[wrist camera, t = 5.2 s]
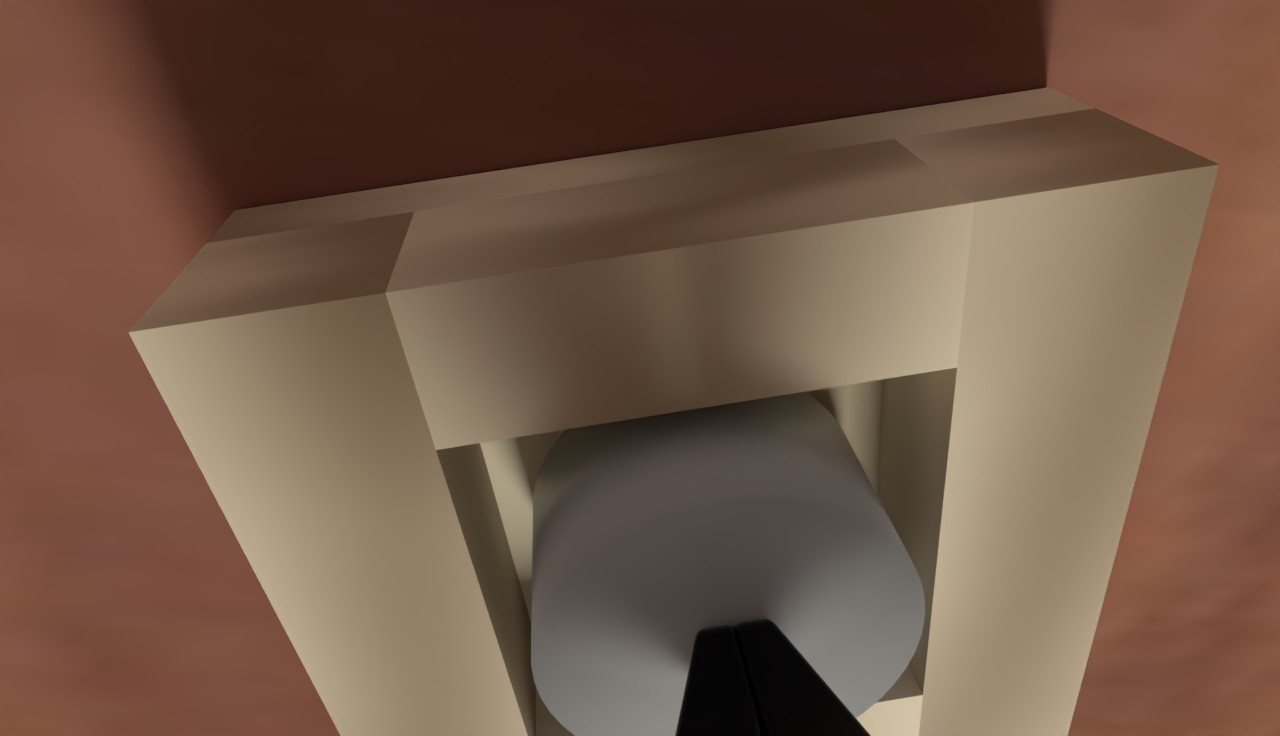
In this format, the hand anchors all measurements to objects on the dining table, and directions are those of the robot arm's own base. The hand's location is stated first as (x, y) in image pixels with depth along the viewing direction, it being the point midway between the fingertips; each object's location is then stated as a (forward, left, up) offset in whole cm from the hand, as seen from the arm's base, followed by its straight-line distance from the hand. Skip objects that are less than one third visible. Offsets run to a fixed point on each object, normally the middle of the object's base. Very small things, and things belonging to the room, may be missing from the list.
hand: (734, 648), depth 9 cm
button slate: (0, 0, -2) cm, 2 cm away
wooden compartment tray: (0, +7, -4) cm, 8 cm away
